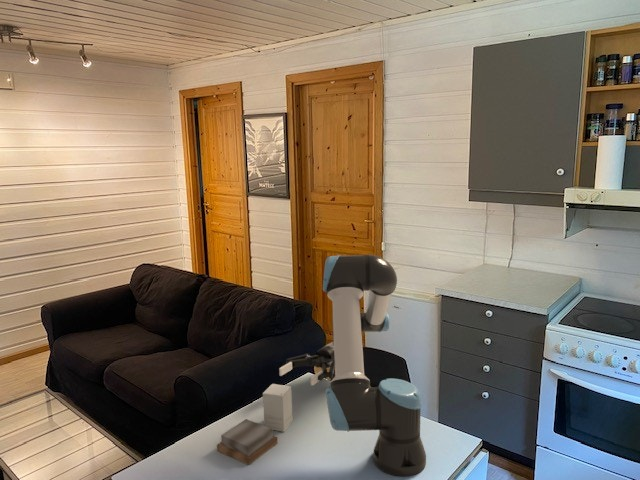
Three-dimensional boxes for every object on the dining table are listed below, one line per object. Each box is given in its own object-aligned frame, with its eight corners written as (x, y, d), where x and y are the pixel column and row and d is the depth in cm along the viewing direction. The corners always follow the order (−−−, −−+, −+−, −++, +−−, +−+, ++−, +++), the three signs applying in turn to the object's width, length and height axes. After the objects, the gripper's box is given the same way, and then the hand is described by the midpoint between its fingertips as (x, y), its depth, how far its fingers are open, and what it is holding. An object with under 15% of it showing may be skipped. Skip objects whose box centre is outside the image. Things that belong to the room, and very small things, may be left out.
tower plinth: (277, 443, 151) (277, 428, 150) (249, 465, 140) (248, 449, 140) (246, 430, 158) (246, 416, 157) (217, 450, 148) (216, 435, 147)
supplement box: (293, 421, 164) (292, 386, 162) (284, 432, 157) (282, 396, 155) (273, 417, 166) (272, 382, 164) (263, 428, 159) (262, 392, 157)
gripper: (357, 372, 179) (325, 396, 162) (303, 357, 193) (268, 378, 176) (357, 353, 178) (325, 375, 160) (302, 339, 191) (267, 358, 174)
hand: (295, 376), depth 168 cm, fingers open, 13 cm apart
